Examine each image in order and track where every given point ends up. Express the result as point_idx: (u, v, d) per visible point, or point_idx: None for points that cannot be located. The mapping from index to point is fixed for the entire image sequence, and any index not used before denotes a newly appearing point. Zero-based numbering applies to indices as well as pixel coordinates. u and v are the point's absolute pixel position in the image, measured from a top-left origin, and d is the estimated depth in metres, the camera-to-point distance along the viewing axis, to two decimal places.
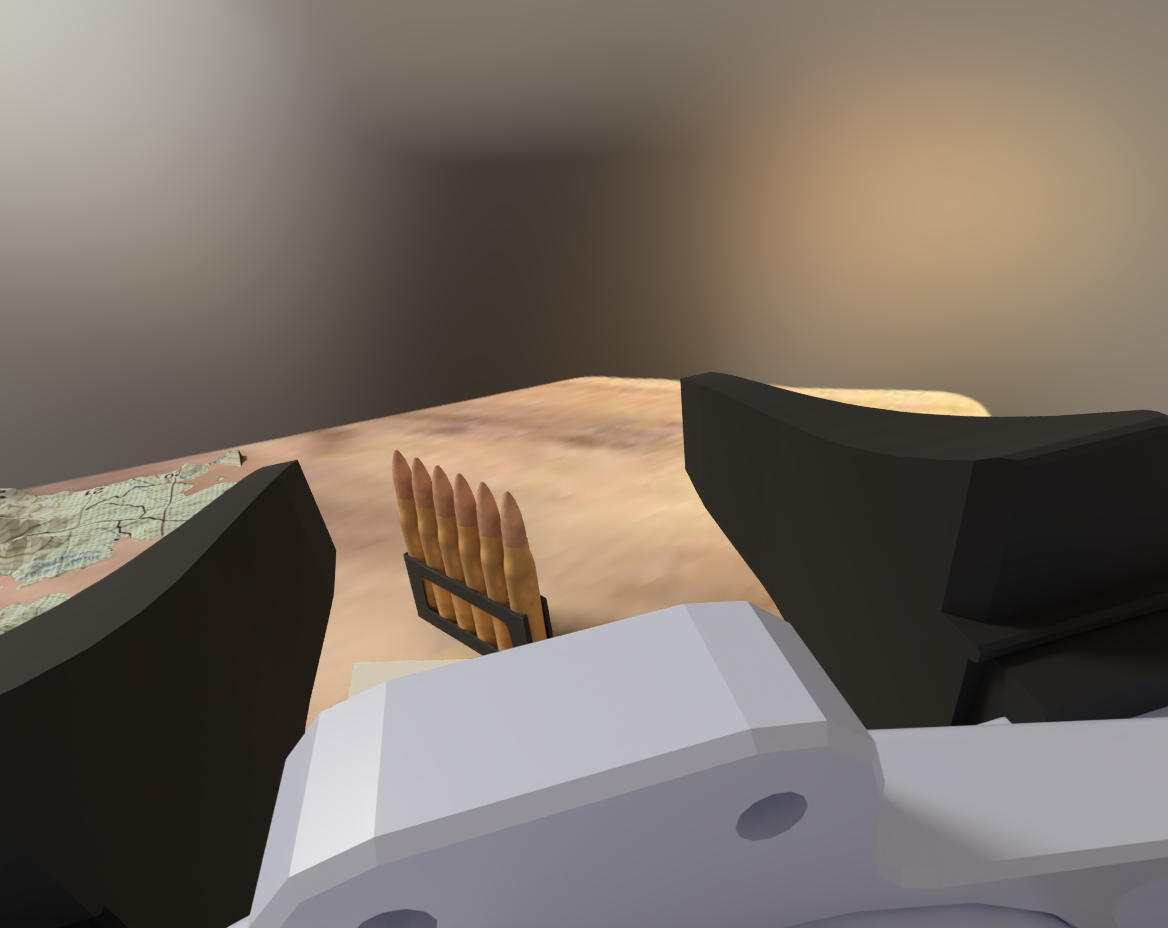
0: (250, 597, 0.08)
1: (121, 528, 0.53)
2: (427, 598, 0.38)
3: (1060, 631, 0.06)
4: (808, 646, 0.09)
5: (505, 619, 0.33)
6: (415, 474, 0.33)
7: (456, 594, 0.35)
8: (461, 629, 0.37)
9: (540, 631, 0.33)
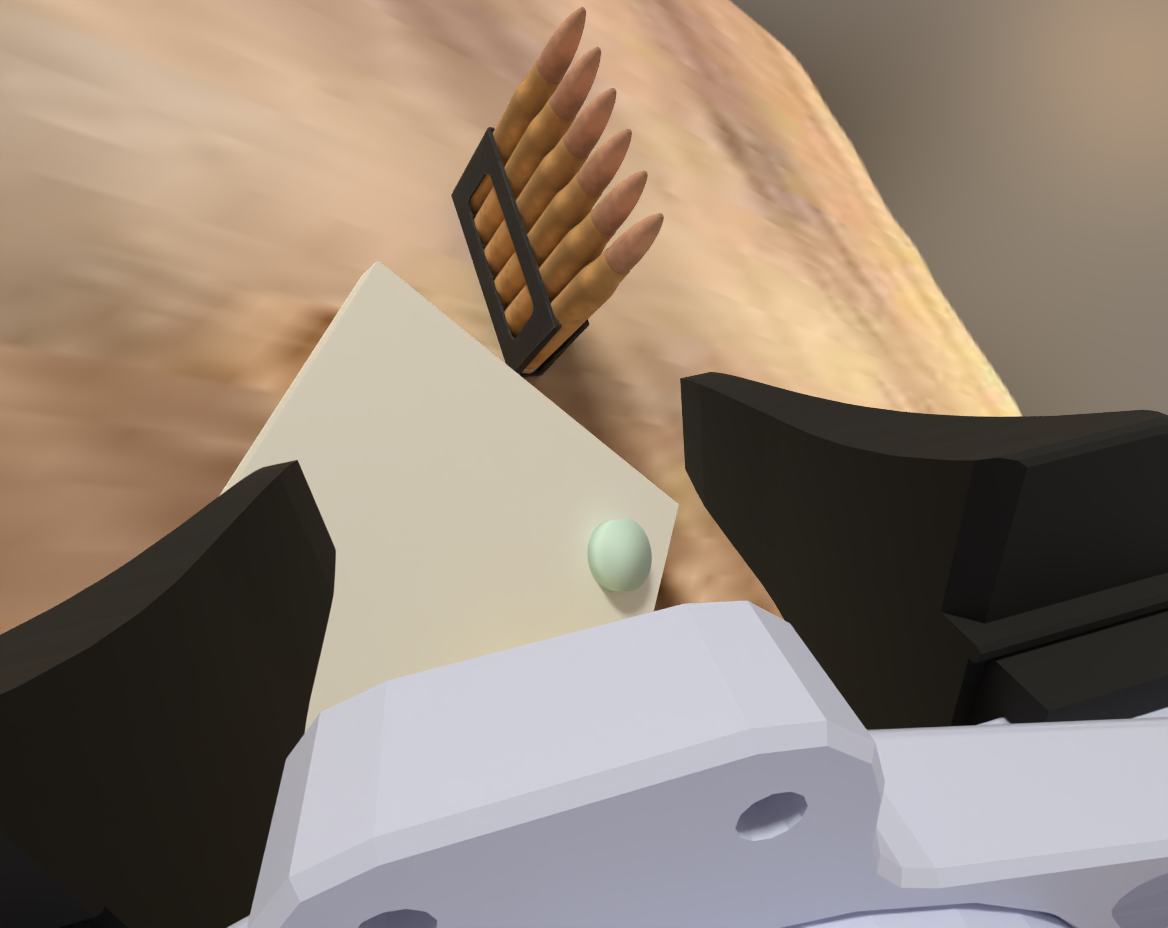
0: (250, 597, 0.08)
1: None
2: (475, 192, 0.31)
3: (1060, 631, 0.06)
4: (808, 646, 0.09)
5: (537, 306, 0.28)
6: (581, 68, 0.23)
7: (509, 229, 0.28)
8: (484, 257, 0.31)
9: (557, 344, 0.29)
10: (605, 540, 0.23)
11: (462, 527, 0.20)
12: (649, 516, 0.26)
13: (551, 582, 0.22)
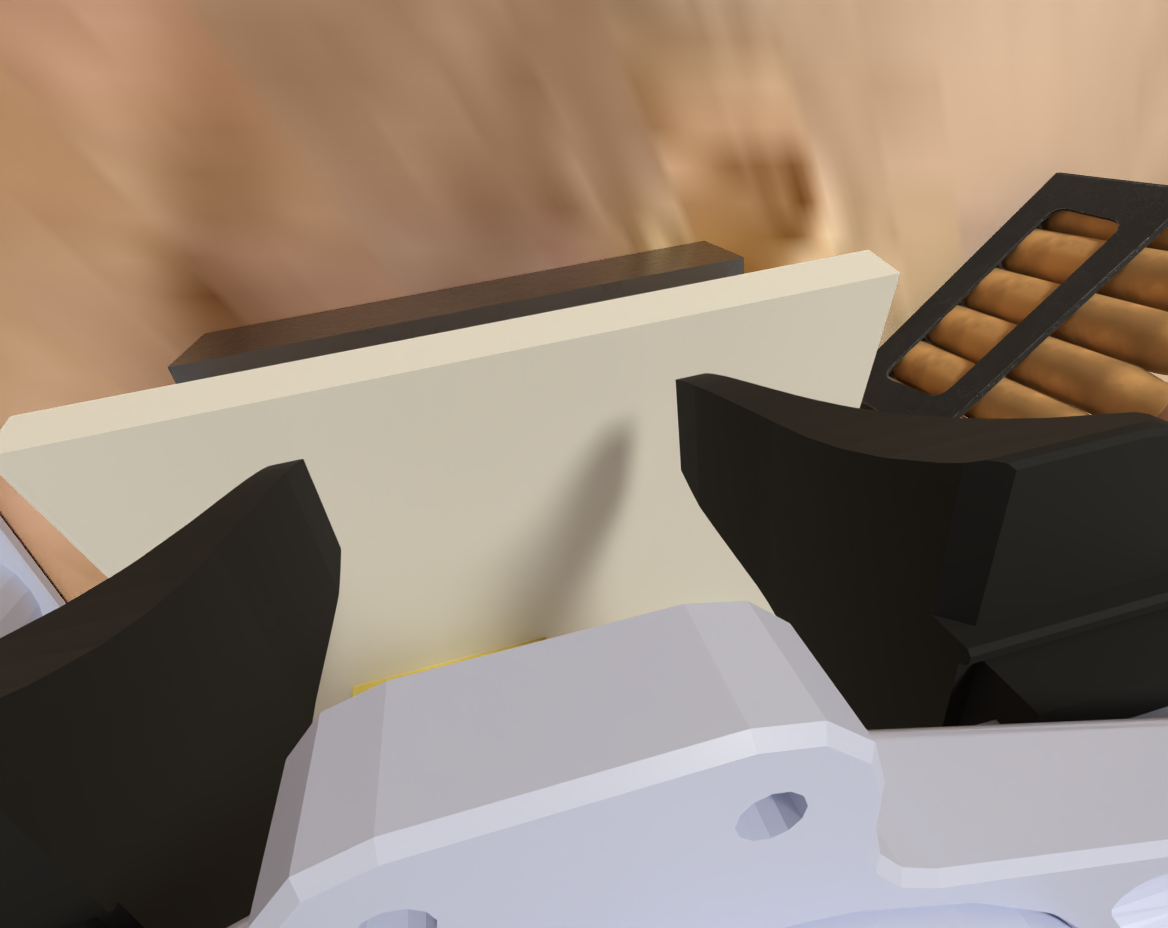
0: (258, 595, 0.08)
1: None
2: (1076, 213, 0.21)
3: (1051, 633, 0.06)
4: None
5: (945, 401, 0.20)
6: None
7: (1041, 305, 0.20)
8: (981, 277, 0.22)
9: None
10: None
11: (628, 531, 0.17)
12: None
13: (629, 614, 0.20)
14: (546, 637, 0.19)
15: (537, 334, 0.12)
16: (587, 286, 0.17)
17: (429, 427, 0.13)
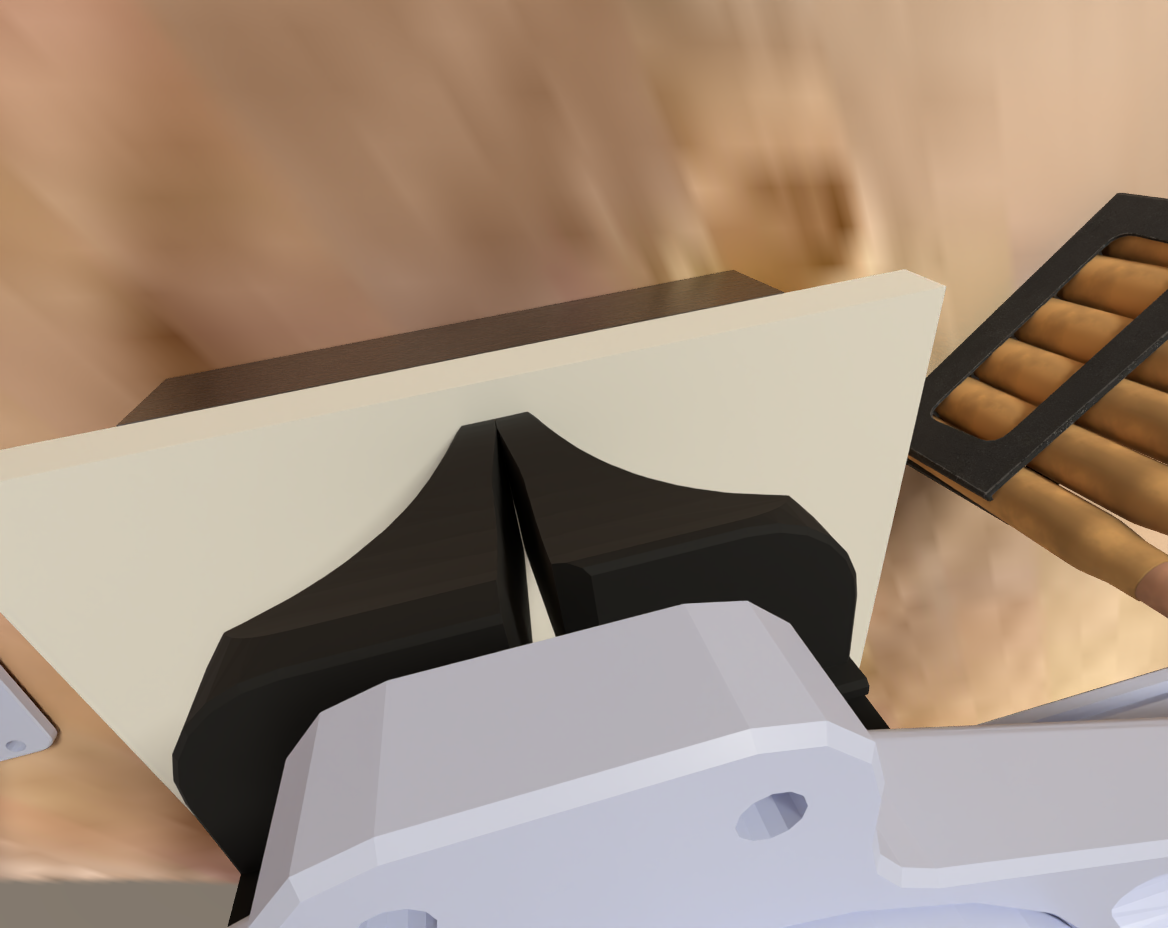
0: (506, 536, 0.09)
1: None
2: (1145, 238, 0.19)
3: None
4: None
5: (1002, 448, 0.18)
6: None
7: (1112, 342, 0.18)
8: (1036, 308, 0.20)
9: (955, 488, 0.20)
10: None
11: None
12: None
13: None
14: None
15: (542, 359, 0.11)
16: (606, 326, 0.15)
17: (420, 467, 0.11)
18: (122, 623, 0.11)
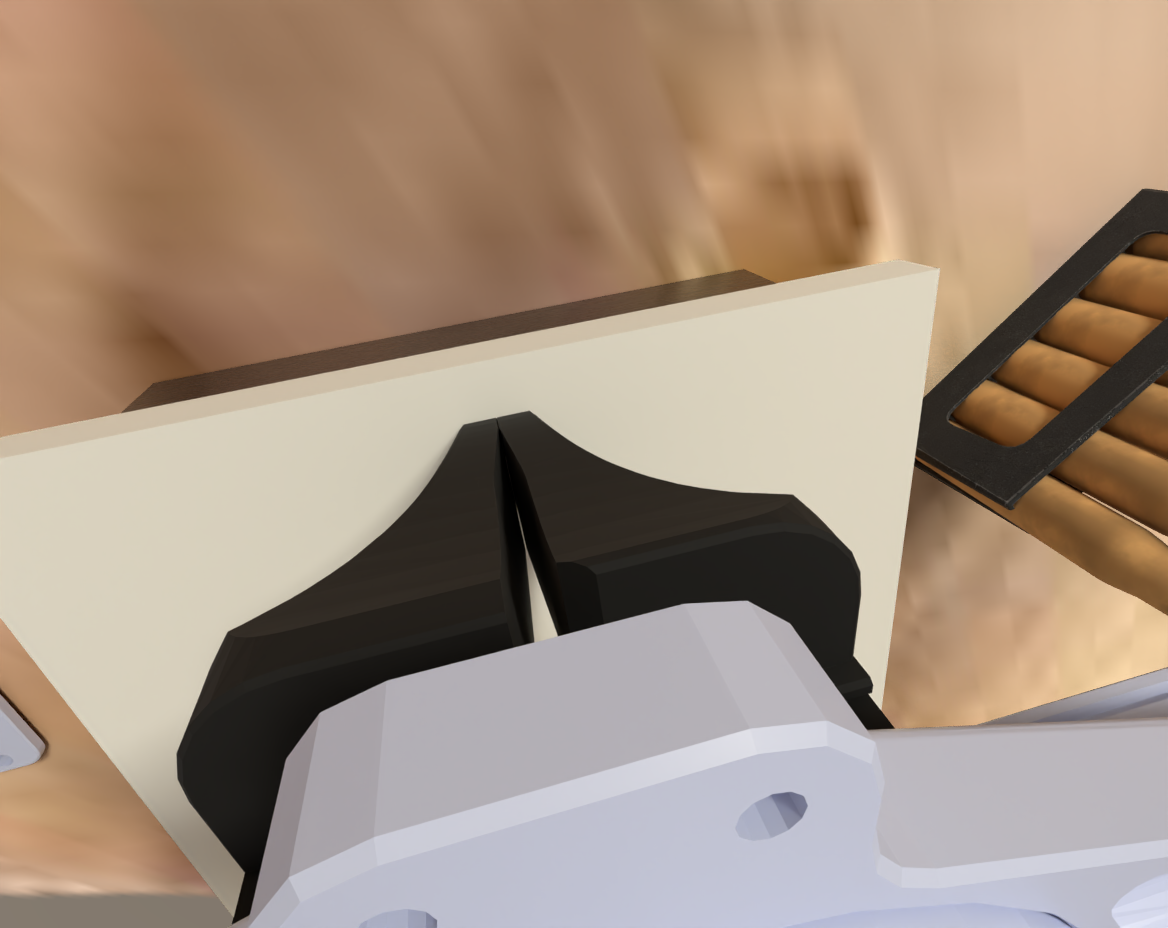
0: (508, 536, 0.09)
1: None
2: None
3: None
4: None
5: (1024, 455, 0.18)
6: None
7: (1139, 345, 0.17)
8: (1057, 309, 0.19)
9: (973, 495, 0.19)
10: None
11: None
12: None
13: None
14: None
15: (536, 343, 0.11)
16: None
17: (415, 453, 0.11)
18: (110, 618, 0.11)
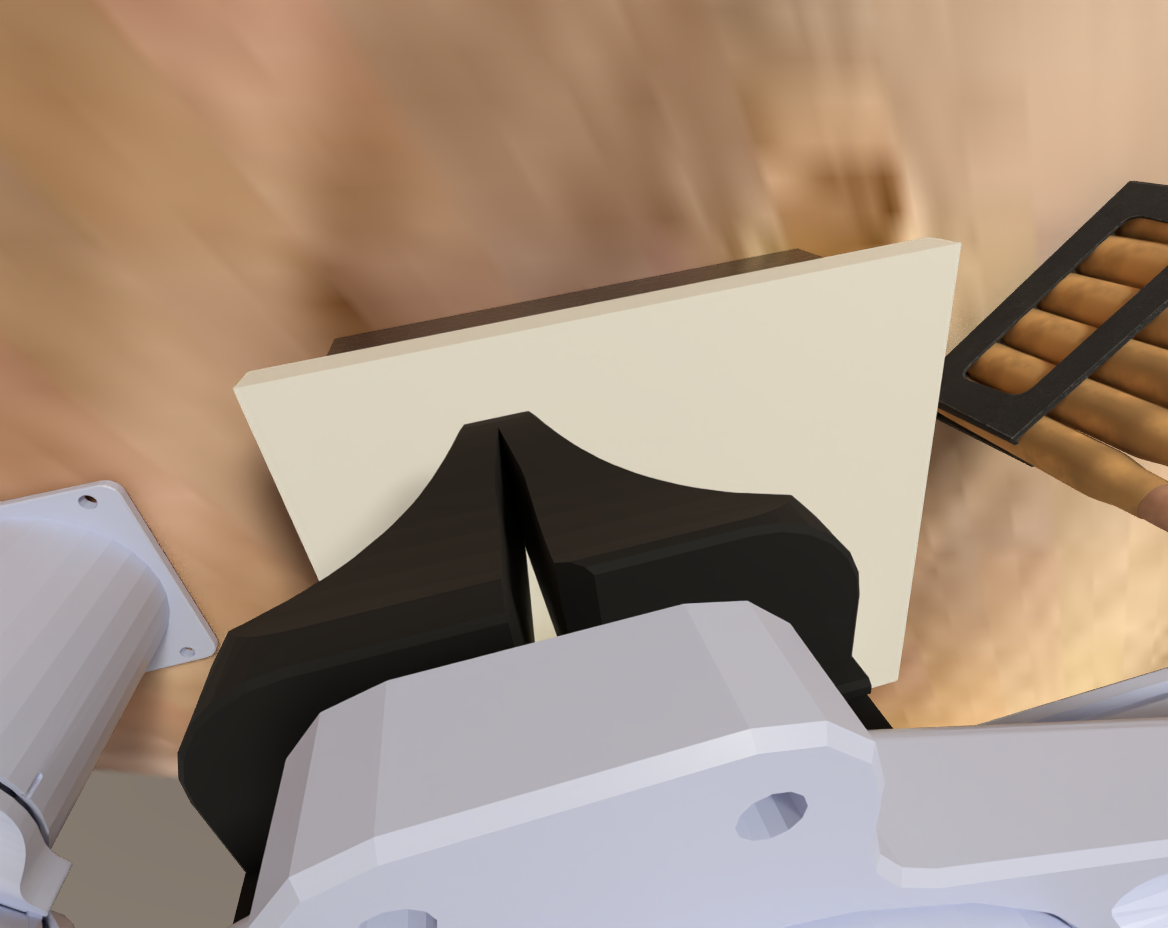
0: (508, 536, 0.09)
1: None
2: (1153, 220, 0.22)
3: None
4: None
5: (1027, 400, 0.21)
6: None
7: (1122, 309, 0.21)
8: (1057, 282, 0.23)
9: (985, 437, 0.23)
10: None
11: None
12: (865, 660, 0.22)
13: None
14: None
15: (663, 297, 0.15)
16: None
17: (575, 378, 0.15)
18: (352, 499, 0.15)
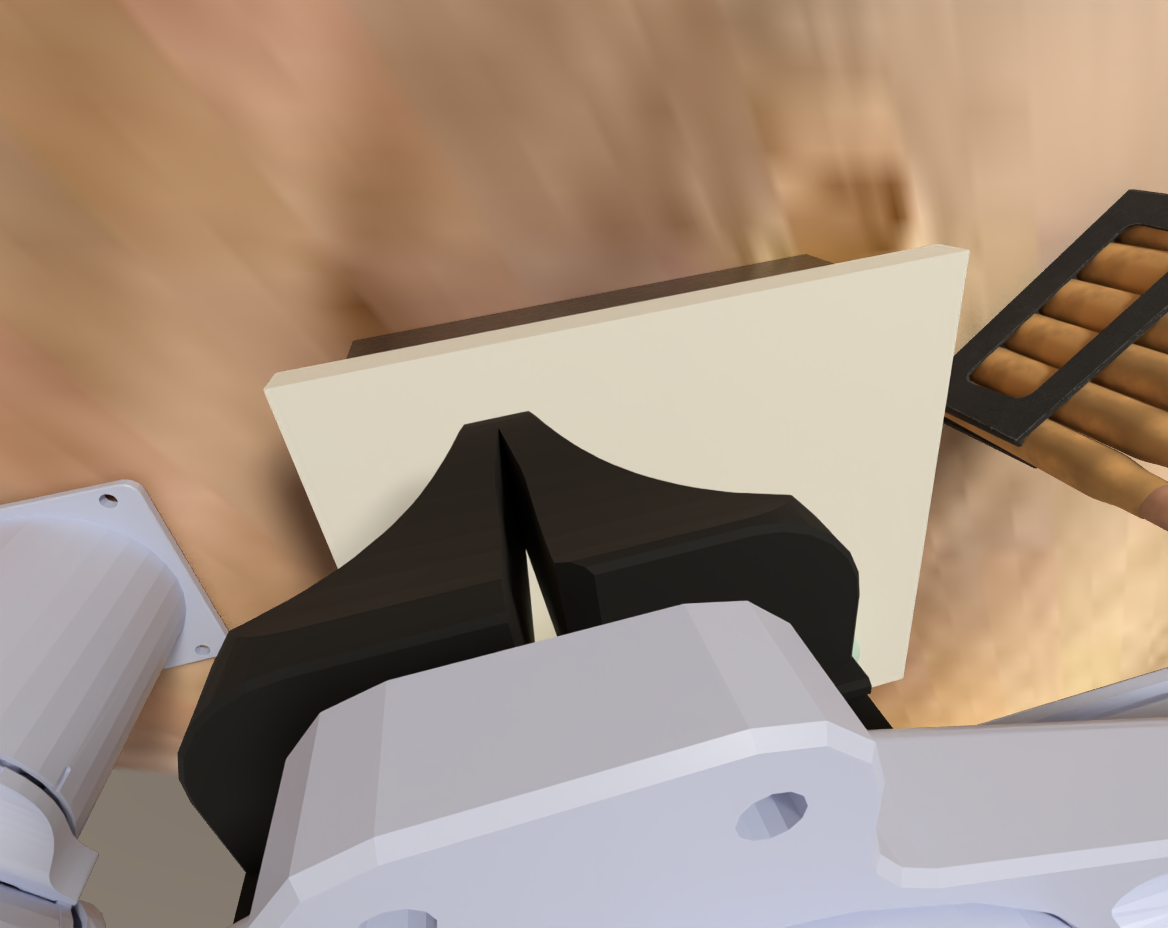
0: (509, 536, 0.09)
1: None
2: (1152, 228, 0.22)
3: None
4: None
5: (1030, 403, 0.22)
6: None
7: (1123, 314, 0.21)
8: (1058, 287, 0.24)
9: (988, 439, 0.23)
10: None
11: None
12: (871, 658, 0.23)
13: None
14: None
15: (681, 302, 0.16)
16: None
17: (595, 380, 0.16)
18: (376, 497, 0.16)
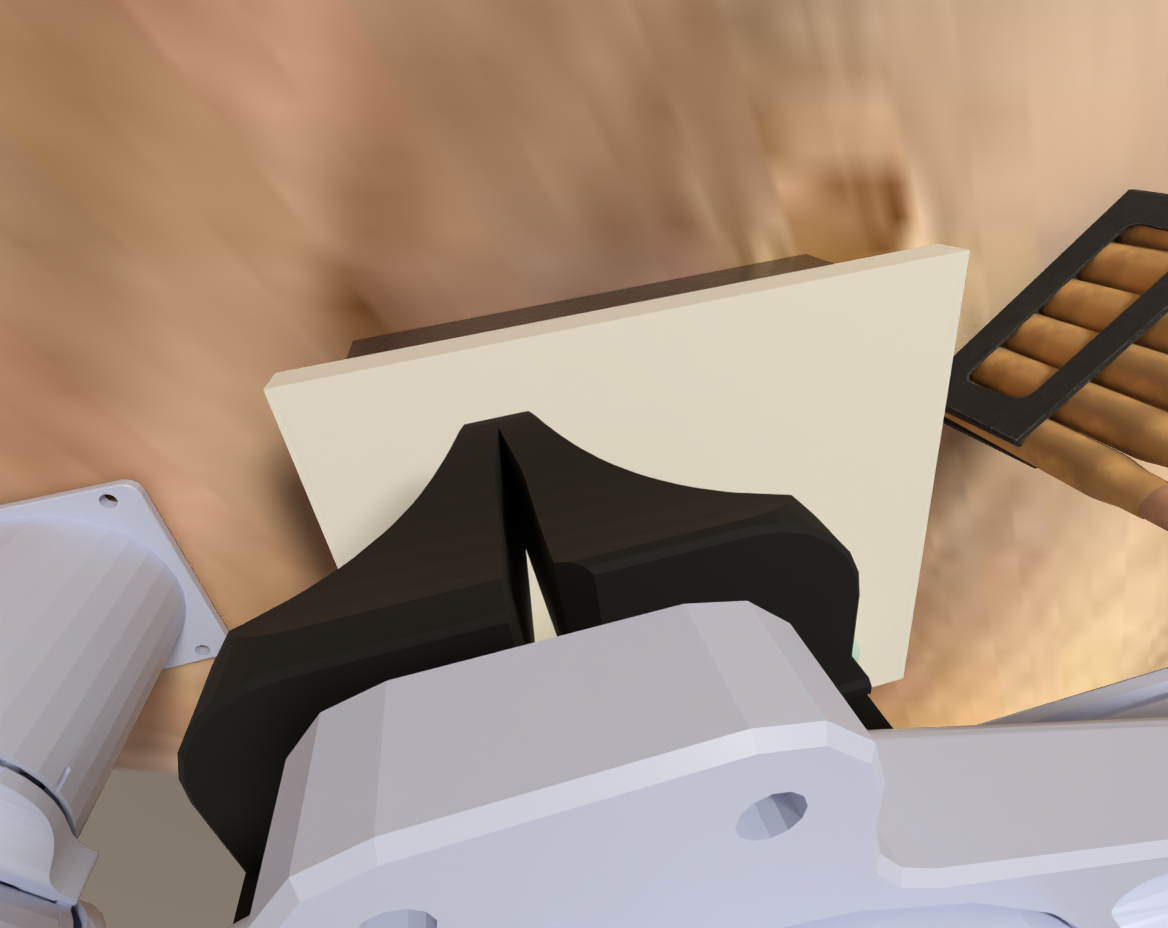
0: (509, 536, 0.09)
1: None
2: (1152, 228, 0.22)
3: None
4: None
5: (1030, 403, 0.22)
6: None
7: (1123, 314, 0.21)
8: (1058, 287, 0.24)
9: (988, 439, 0.23)
10: None
11: None
12: (871, 658, 0.23)
13: None
14: None
15: (681, 302, 0.16)
16: None
17: (595, 380, 0.16)
18: (376, 497, 0.16)
